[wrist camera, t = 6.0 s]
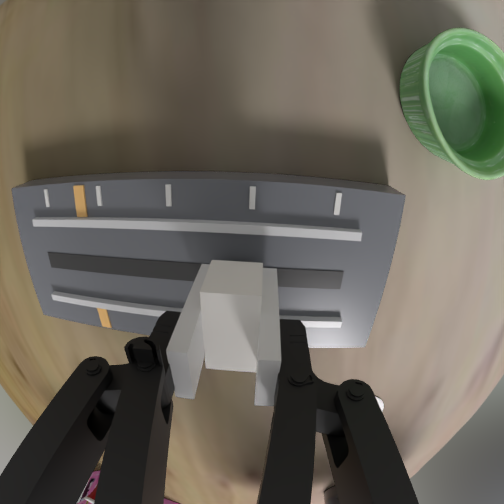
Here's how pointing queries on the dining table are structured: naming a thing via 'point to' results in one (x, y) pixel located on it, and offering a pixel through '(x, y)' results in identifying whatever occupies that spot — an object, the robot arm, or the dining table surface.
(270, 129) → the dining table surface
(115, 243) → the console
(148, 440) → the robot arm
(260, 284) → the fader knob
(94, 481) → the gum box
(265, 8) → the dining table surface
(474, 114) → the ramekin
